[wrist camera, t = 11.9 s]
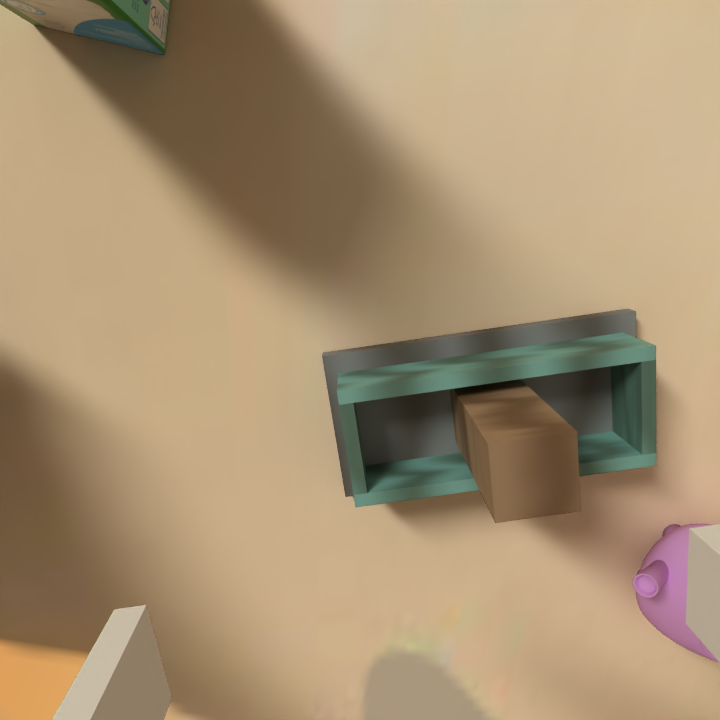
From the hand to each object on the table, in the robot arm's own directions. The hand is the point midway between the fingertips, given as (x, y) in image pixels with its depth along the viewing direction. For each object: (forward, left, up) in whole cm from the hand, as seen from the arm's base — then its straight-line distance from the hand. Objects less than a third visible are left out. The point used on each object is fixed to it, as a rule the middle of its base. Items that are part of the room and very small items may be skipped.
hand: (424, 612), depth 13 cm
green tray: (+8, -6, -30) cm, 31 cm away
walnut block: (+8, -6, -29) cm, 30 cm away
